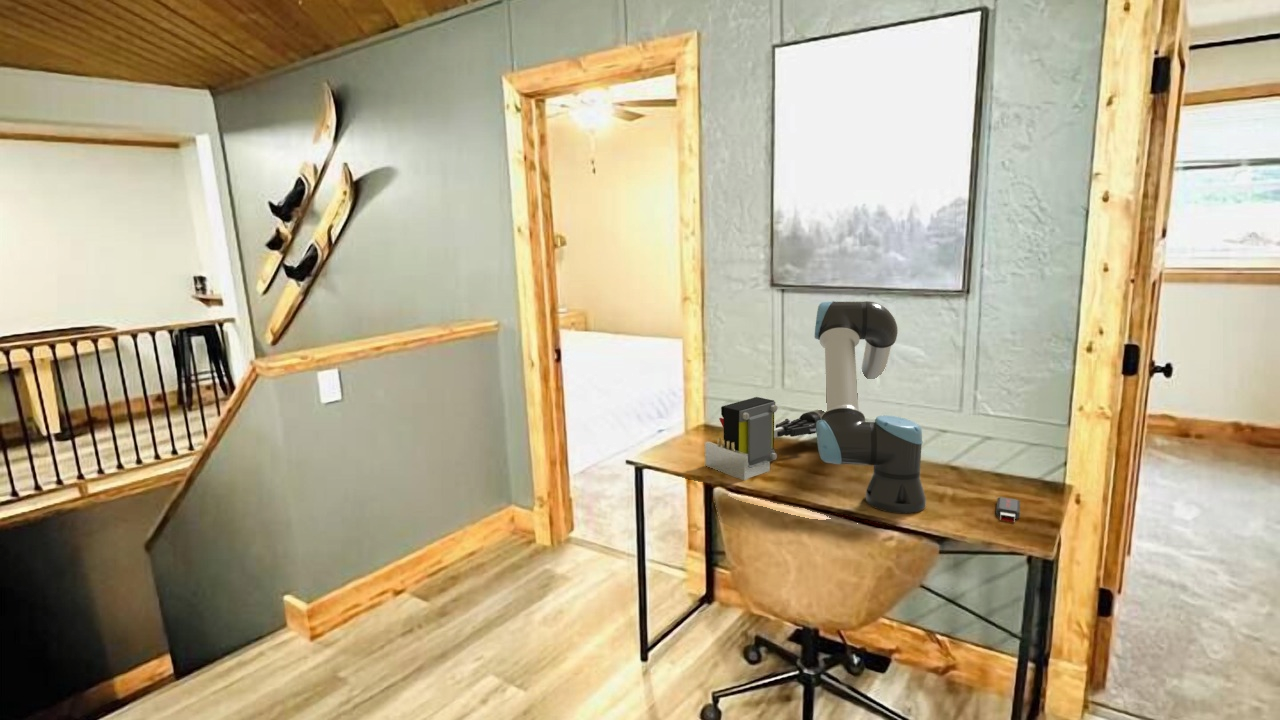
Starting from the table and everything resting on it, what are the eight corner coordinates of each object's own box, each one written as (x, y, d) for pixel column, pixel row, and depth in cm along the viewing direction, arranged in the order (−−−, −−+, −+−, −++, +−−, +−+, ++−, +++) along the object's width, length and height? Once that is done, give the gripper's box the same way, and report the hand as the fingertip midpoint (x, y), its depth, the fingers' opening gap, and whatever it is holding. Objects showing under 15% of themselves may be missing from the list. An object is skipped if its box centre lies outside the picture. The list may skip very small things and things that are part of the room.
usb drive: (1019, 507, 173) (1020, 498, 172) (1019, 524, 163) (1019, 514, 162) (996, 504, 176) (997, 494, 175) (995, 521, 165) (996, 510, 165)
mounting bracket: (770, 471, 203) (771, 439, 201) (744, 480, 196) (744, 447, 194) (731, 458, 217) (731, 427, 215) (705, 466, 209) (705, 435, 207)
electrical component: (743, 474, 201) (743, 411, 198) (719, 466, 209) (719, 405, 205) (779, 461, 213) (779, 401, 209) (754, 454, 220) (754, 396, 217)
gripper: (829, 436, 224) (784, 450, 209) (798, 428, 234) (753, 441, 219) (829, 415, 222) (784, 428, 208) (799, 408, 232) (754, 420, 218)
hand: (768, 435), depth 214 cm, fingers closed
